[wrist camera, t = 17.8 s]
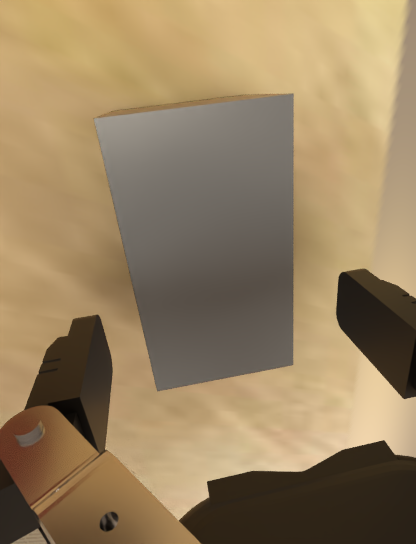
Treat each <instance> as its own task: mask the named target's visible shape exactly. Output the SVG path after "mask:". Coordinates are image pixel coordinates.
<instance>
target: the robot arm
mask: <svg viewBox="0 0 416 544" xmlns="http://www.w3.org/2000/svg"><path fill="white" fill-rule="evenodd" d="M336 316H337V320H338V323H339V326H340V328H341V329H342V330H343V332H344V333H345V334H346V335H347V336H348V337H349V338H350V339H351V341H352V342H353V343H354V344H355V345H356V346H357V347H358V348H359V349H360V351H361V352H362V353H363V354H364V355H365V356H366V357H367V358H368V359H369V361H370V362H371V363H372V364H373V365H374V366H375V367H376V368H377V370H378V371H379V372H380V373H381V374H382V375H383V376H384V377H385V378H386V380H387V381H388V382H389V383H390V384H391V385H392V386H393V388H394V389H395V390H396V391H397V392H398V393H399V394H400V395H401V396H402V398H404V399H407V398H411V397H416V298H414V297H412V296H409V294H408V293H407V292H406V291H404V290H403V289H401V288H400V287H399V286H397V285H394V284H391V283H389V282H386V281H384V280H380V279H378V278H377V277H376V276H374V275H373V274H372V273H370V272H369V271H368V270H366V269H358V270H353V271H347V272H342V273H341V274H340V276H339V279H338V293H337V308H336ZM42 362H43V364H41V367H40V369H39V374H38V375H37V377H36V380H35V383H34V385H33V388H32V391H31V393H30V396H29V399H28V401H27V404H26V407H25V409H24V411H22V412H20V413H18V414H17V415H15V416H14V417H12V418H11V419H10V420H9V421H7V422H6V423H5V424H4V426H3V427H2V428H1V429H0V544H11V543H13V542H15V541H17V540H18V539H20V538H22V537H24V536H26V535H27V534H29V533H31V532H33V531H34V530H36V529H38V530H39V532H40V534H41V535H42V537H43V539H44V540H45V542H46V544H416V458H414V457H409V456H402V455H394V453H393V452H392V450H391V449H390V448H389V446H388V445H387V443H386V442H385V441H384V440H383V441H379V442H375V443H371V444H366V445H362V446H358V447H353V448H349V449H345V450H342V451H340V452H338V453H336V454H334V455H333V456H331V457H329V458H327V459H326V460H324V461H322V462H320V463H318V464H317V465H315V466H313V467H311V468H310V469H308V470H306V471H302V472H276V471H250V472H246V473H242V474H238V475H233V476H229V477H225V478H220V479H216V480H212V481H208V482H207V485H208V491H209V498H207V499H206V500H204V501H202V502H200V503H199V504H198V505H196V506H195V507H194V508H192V509H191V510H190V511H188V512H187V513H186V514H185V515H184V516H183V517H182V518H181V519H180V520H179V521H178V520H177V519H176V518H175V517H174V516H173V515H172V514H171V513H170V512H169V511H168V510H167V509H166V508H165V507H164V506H163V505H162V504H161V503H160V502H159V501H158V500H157V499H156V497H155V496H154V495H153V494H152V493H151V492H150V491H149V490H148V489H147V488H146V487H145V486H144V485H143V484H142V483H141V482H140V481H139V480H138V479H137V478H136V477H135V476H134V475H133V474H132V473H131V472H130V471H129V470H128V469H127V468H126V467H125V466H124V465H123V464H122V463H121V462H120V461H119V460H118V459H117V458H116V457H115V456H114V455H113V454H112V453H110V452H109V451H107V450H105V443H106V433H107V423H108V413H109V403H110V393H111V383H112V373H113V370H112V359H111V354H110V350H109V347H108V343H107V340H106V336H105V333H104V329H103V325H102V322H101V319H100V317H99V315H93V316H87V317H81V318H75V319H73V321H72V324H71V327H70V331H69V334H68V336H64V337H59V338H57V339H56V340H55V341H54V342H53V344H52V345H51V346H50V347H49V348H48V349H47V351H46V353H45V356H44V359H43V361H42Z"/></svg>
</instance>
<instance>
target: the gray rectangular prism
mask: <svg viewBox="0 0 416 544" xmlns="http://www.w3.org/2000/svg"><path fill="white" fill-rule="evenodd" d="M94 122H95V126H96V130H97V135H98V139H99V143H100V147H101V152H102V156H103V160H104V165H105V169H106V173H107V178H108V182H109V186H110V190H111V195H112V199H113V203H114V208H115V212H116V216H117V221H118V225H119V229H120V233H121V238H122V242H123V246H124V251H125V255H126V259H127V263H128V268H129V272H130V276H131V281H132V285H133V289H134V294H135V298H136V302H137V306H138V311H139V315H140V319H141V324H142V328H143V332H144V337H145V341H146V345H147V349H148V354H149V358H150V362H151V367H152V371H153V375H154V379H155V384H156V388H157V391H162V390H167V389H172V388H177V387H182V386H187V385H193V384H198V383H203V382H208V381H213V380H218V379H224V378H229V377H234V376H239V375H244V374H249V373H255V372H260V371H265V370H270V369H275V368H280V367H286V366H291V365H293V94H257V95H239V96H231V97H223V98H215V99H207V100H199V101H190V102H182V103H174V104H166V105H158V106H150V107H142V108H134V109H125V110H117V111H111V112H109V113H106V114H104V115H101V116H99V117H96V118H94Z"/></svg>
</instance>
